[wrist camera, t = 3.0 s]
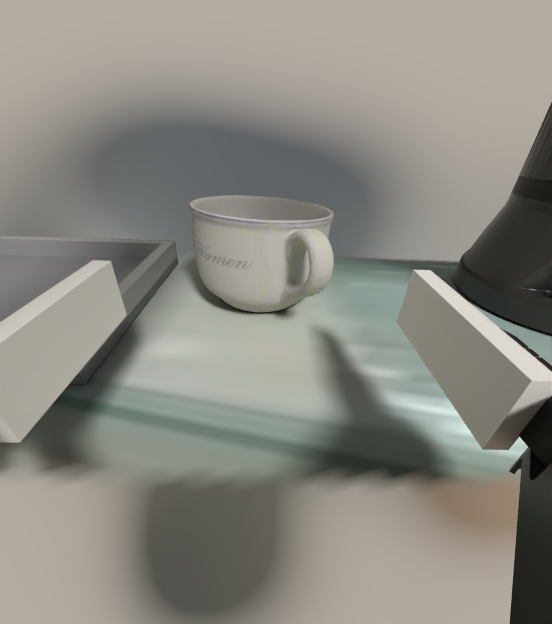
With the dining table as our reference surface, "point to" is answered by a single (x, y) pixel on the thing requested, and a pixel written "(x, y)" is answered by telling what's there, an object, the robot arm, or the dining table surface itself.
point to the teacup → (262, 249)
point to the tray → (71, 257)
